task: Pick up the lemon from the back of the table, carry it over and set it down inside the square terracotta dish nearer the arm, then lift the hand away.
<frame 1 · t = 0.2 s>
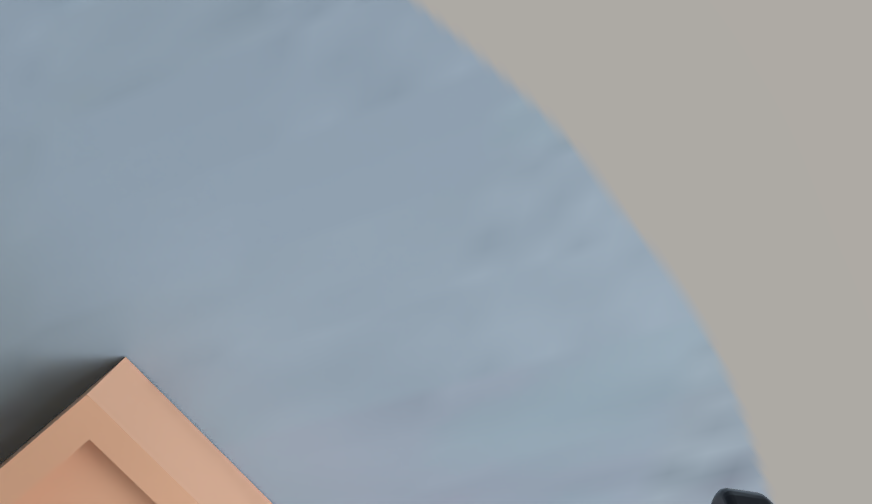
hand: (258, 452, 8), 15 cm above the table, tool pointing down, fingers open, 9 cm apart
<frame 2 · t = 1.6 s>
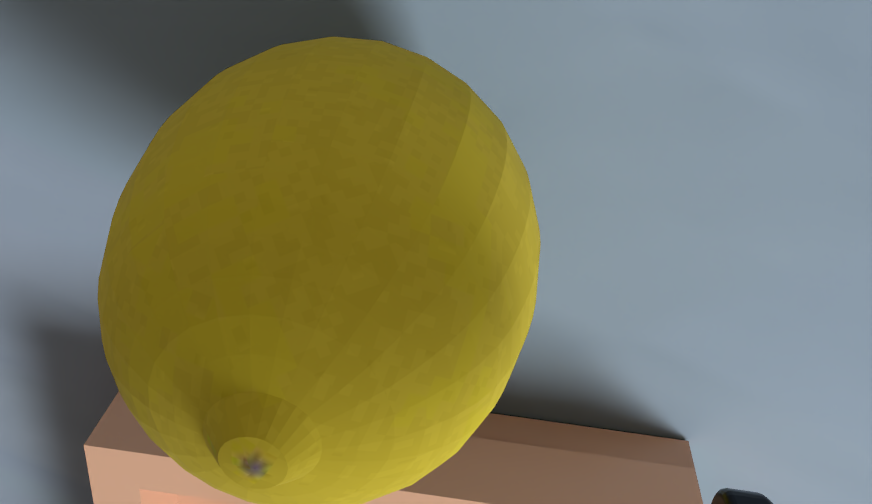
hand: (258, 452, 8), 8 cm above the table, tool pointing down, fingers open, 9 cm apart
lemon: (382, 134, 15), on the table
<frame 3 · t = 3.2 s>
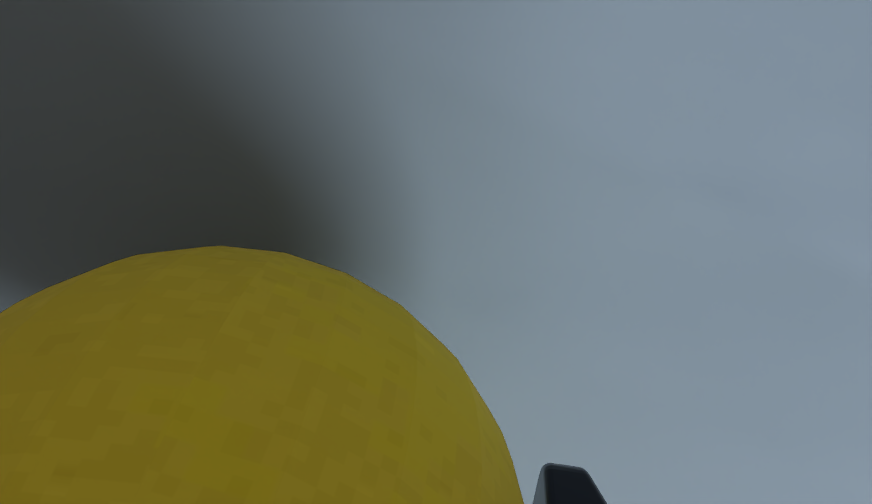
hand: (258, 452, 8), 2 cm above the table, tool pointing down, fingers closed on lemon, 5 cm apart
lemon: (309, 320, 10), on the table, touching gripper
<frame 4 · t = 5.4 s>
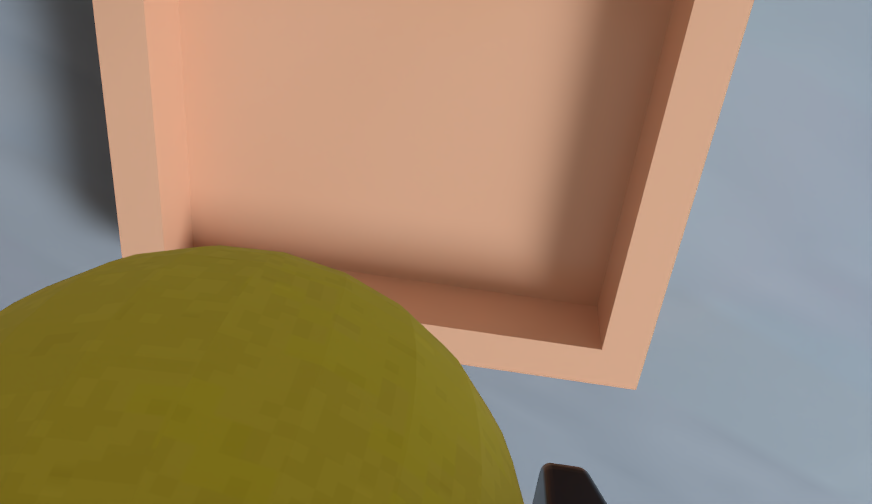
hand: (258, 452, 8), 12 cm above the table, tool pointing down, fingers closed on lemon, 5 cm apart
dish: (415, 70, 18), on the table
lemon: (308, 320, 10), point 10 cm above the table, touching gripper
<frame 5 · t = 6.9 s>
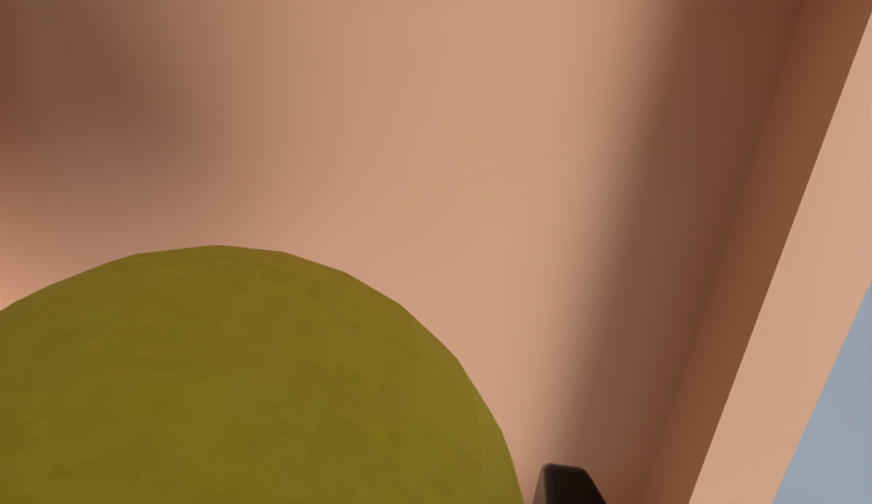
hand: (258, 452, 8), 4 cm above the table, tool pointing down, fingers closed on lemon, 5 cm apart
dish: (348, 227, 12), on the table
lemon: (308, 320, 10), point 2 cm above the table, touching gripper
when the fingers open (4 cm above the table, at t = 7.6 s): lemon drops 2 cm, resting on dish.
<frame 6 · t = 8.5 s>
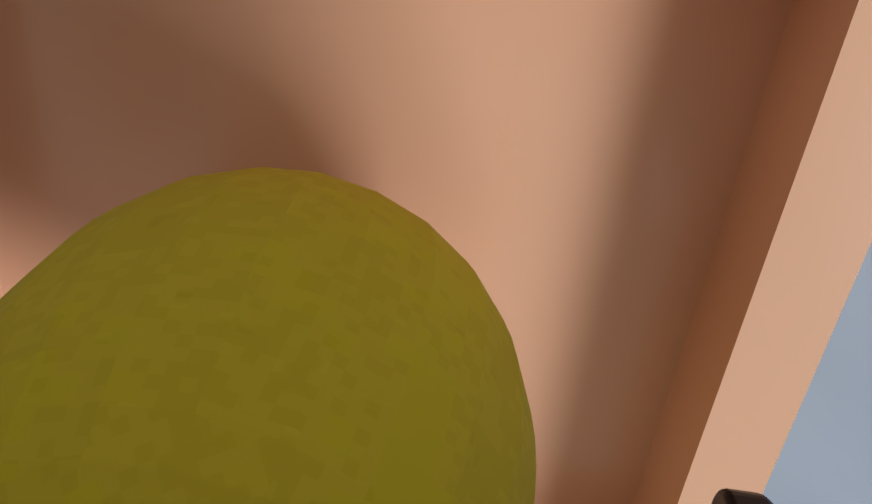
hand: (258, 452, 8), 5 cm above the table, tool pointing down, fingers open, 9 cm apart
dish: (346, 228, 12), on the table
lemon: (336, 253, 12), point 1 cm above the table, touching dish
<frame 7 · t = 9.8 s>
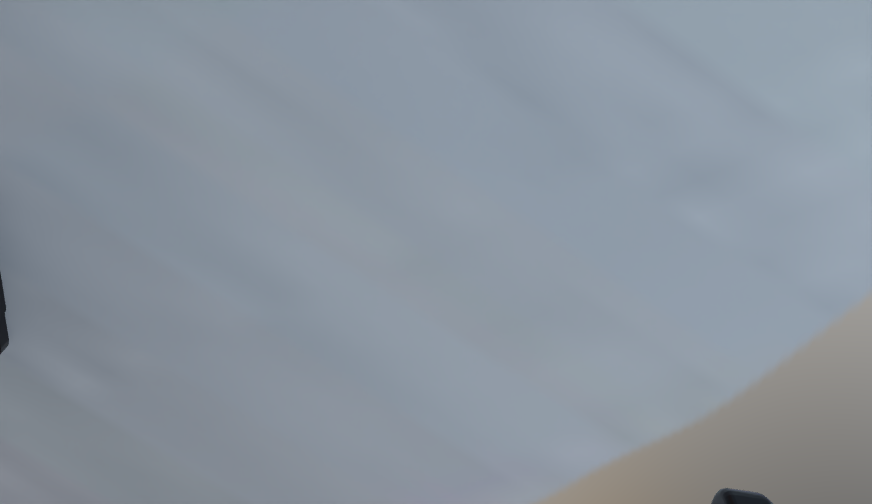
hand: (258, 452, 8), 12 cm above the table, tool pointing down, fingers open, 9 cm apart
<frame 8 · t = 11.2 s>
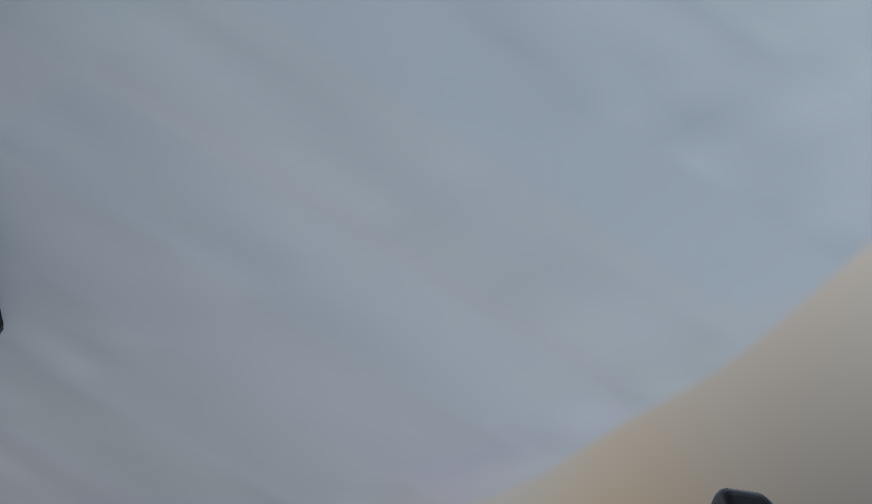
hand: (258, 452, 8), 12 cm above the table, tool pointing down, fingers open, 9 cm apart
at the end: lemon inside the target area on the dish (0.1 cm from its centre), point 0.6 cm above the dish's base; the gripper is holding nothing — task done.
